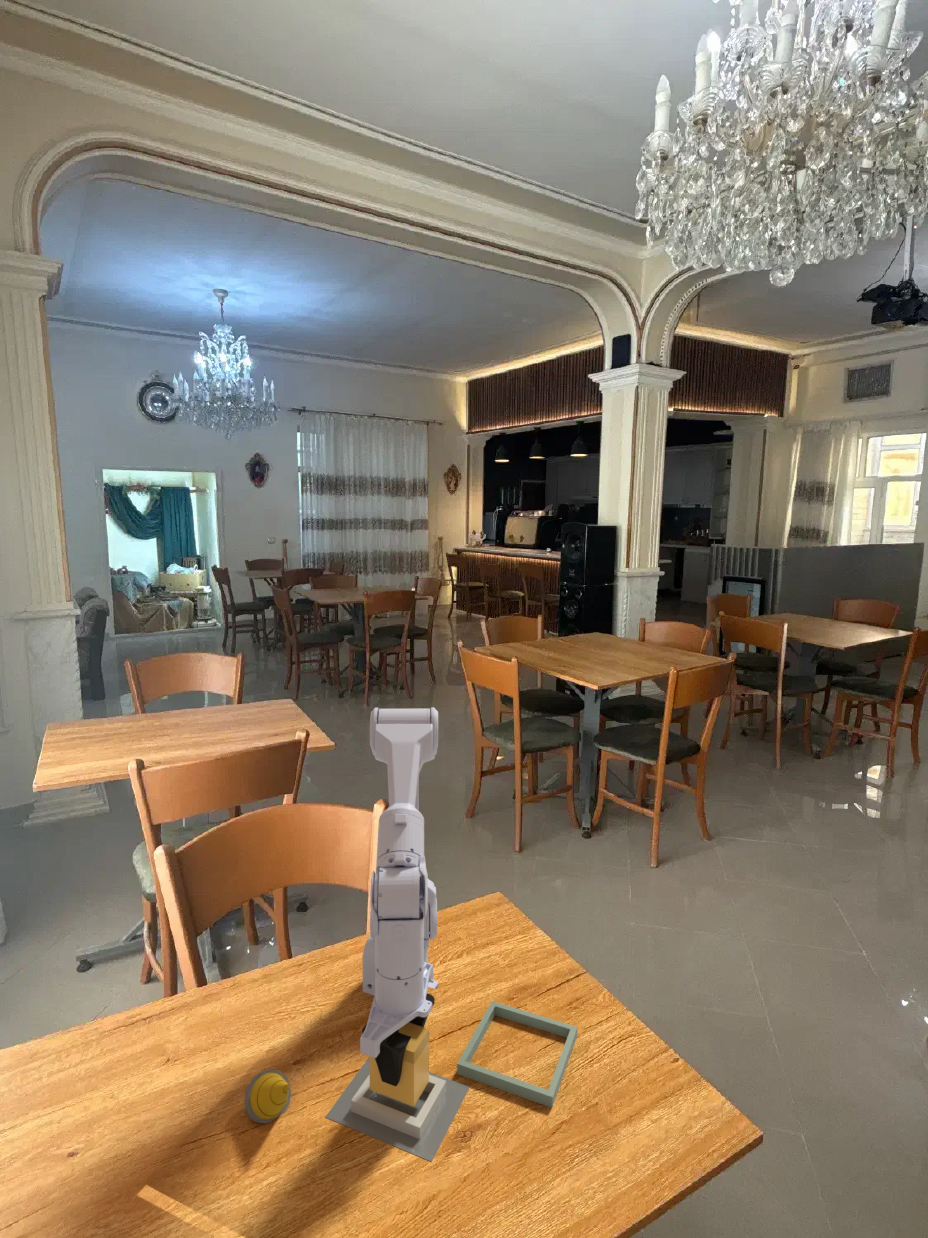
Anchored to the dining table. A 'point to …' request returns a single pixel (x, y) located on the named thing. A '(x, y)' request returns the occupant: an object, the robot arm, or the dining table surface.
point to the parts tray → (508, 1082)
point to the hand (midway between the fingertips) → (399, 1067)
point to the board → (400, 1113)
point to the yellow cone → (267, 1096)
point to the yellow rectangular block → (407, 1068)
